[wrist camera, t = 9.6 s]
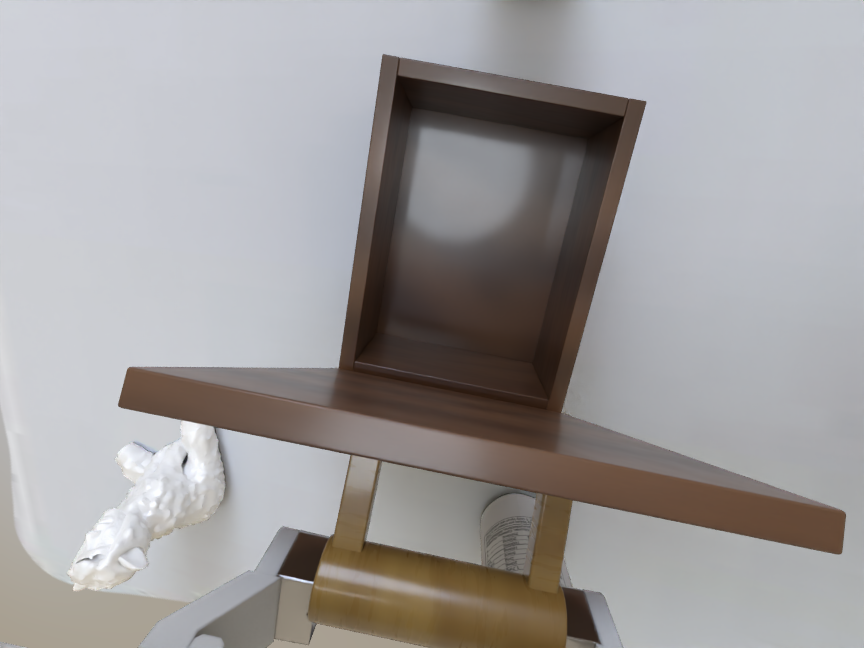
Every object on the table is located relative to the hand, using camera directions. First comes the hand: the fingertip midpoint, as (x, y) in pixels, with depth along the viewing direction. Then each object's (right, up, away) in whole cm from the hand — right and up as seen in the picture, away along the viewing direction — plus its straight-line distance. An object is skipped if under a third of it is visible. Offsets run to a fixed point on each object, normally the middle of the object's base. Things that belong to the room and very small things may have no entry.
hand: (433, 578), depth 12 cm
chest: (+3, +13, +21) cm, 25 cm away
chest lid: (+1, +4, +6) cm, 7 cm away
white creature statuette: (-21, -5, +27) cm, 35 cm away
